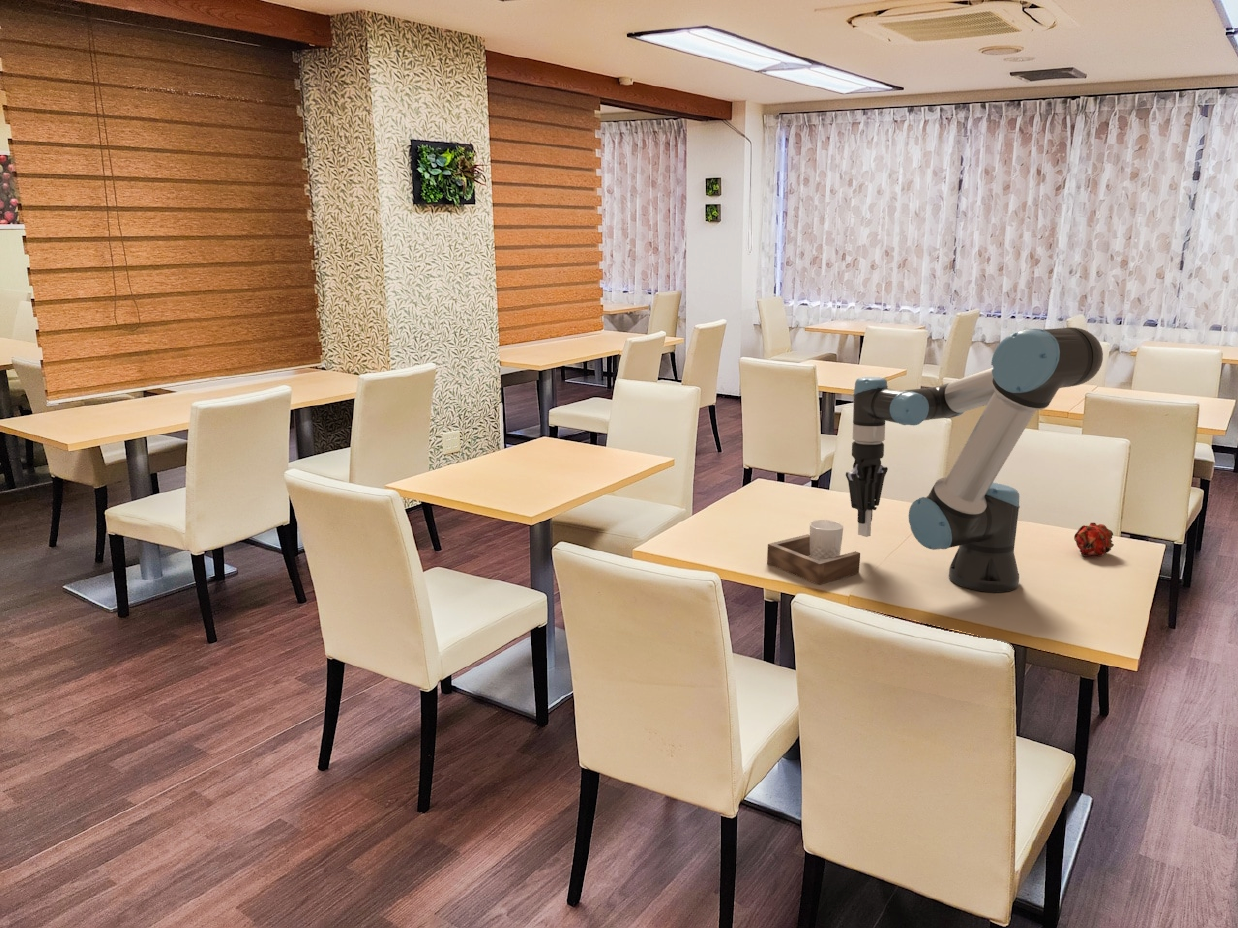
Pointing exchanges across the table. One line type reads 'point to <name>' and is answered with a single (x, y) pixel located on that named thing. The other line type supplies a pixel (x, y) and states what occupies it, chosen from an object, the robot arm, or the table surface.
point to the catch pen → (810, 561)
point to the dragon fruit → (1094, 539)
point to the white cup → (825, 539)
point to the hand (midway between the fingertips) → (864, 535)
